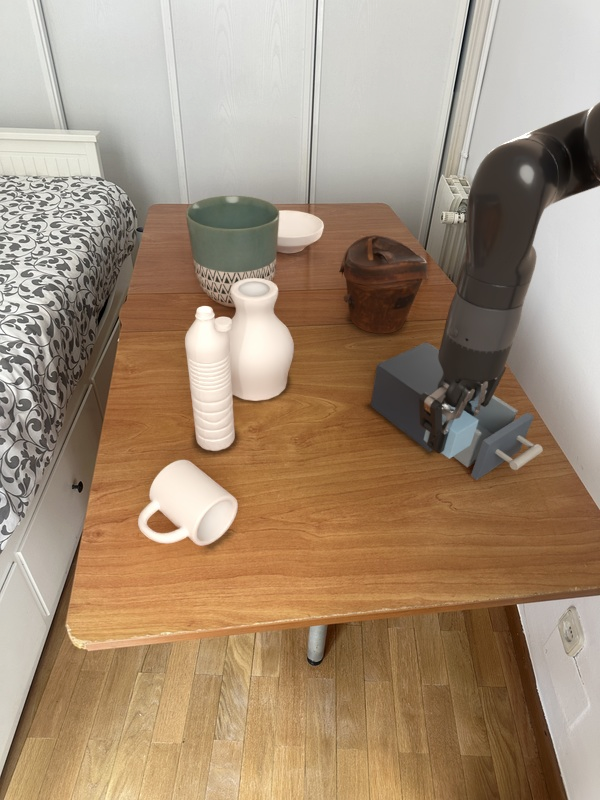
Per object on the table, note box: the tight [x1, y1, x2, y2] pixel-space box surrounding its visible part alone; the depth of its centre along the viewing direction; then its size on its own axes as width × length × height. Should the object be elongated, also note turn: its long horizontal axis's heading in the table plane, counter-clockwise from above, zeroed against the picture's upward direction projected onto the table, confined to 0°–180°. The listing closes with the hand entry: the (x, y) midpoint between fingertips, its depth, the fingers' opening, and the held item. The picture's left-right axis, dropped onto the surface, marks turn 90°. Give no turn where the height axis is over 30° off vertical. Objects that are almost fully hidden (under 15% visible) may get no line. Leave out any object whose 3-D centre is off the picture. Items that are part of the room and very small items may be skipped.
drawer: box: [452, 390, 543, 481], centre depth 88 cm, size 18×11×8 cm, turn 37°
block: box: [424, 404, 479, 460], centre depth 70 cm, size 4×4×4 cm
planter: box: [185, 195, 280, 308], centre depth 121 cm, size 20×20×21 cm
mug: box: [137, 459, 239, 547], centre depth 74 cm, size 12×10×8 cm
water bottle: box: [184, 305, 236, 452], centre depth 83 cm, size 9×6×25 cm
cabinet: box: [370, 341, 487, 453], centre depth 95 cm, size 15×13×10 cm
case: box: [338, 234, 429, 334], centre depth 118 cm, size 18×20×18 cm
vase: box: [225, 278, 295, 402], centre depth 98 cm, size 14×14×20 cm
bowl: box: [277, 209, 325, 254], centre depth 151 cm, size 20×20×7 cm
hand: (447, 440), depth 71 cm, fingers closed on block, 4 cm apart
